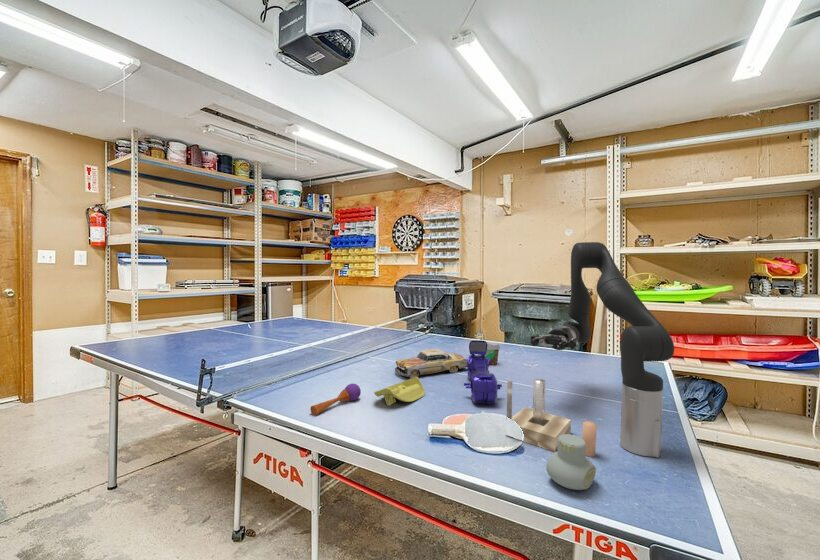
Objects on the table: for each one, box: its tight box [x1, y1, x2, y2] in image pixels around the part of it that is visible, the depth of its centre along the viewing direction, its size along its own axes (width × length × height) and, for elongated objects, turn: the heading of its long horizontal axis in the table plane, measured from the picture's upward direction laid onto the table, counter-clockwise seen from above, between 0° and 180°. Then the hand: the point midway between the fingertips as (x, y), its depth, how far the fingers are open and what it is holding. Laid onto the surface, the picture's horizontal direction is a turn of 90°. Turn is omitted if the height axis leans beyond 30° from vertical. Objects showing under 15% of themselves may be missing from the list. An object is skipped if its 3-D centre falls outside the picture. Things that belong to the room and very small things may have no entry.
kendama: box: [310, 383, 362, 416], centre depth 127 cm, size 6×6×20 cm
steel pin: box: [532, 378, 546, 426], centre depth 106 cm, size 3×3×16 cm
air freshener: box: [545, 433, 597, 491], centre depth 84 cm, size 11×8×10 cm
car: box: [394, 348, 468, 379], centre depth 165 cm, size 12×34×10 cm, turn 115°
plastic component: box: [374, 377, 426, 406], centre depth 133 cm, size 20×7×10 cm
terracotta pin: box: [581, 420, 598, 458], centre depth 96 cm, size 3×3×8 cm
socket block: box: [506, 380, 572, 453], centre depth 106 cm, size 14×14×16 cm
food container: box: [477, 343, 501, 367], centre depth 178 cm, size 12×6×10 cm, turn 47°
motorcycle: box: [463, 339, 503, 405], centre depth 142 cm, size 35×14×18 cm, turn 175°
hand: (546, 344), depth 117 cm, fingers open, 8 cm apart
